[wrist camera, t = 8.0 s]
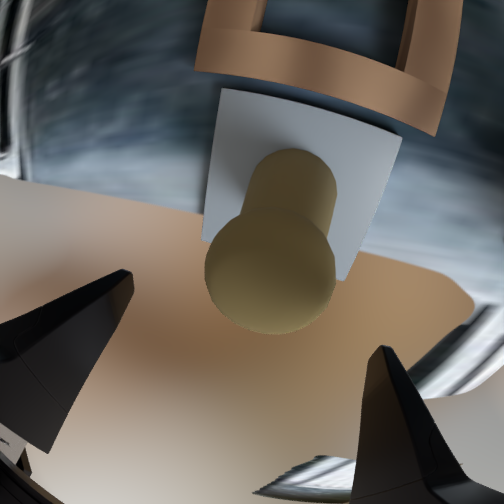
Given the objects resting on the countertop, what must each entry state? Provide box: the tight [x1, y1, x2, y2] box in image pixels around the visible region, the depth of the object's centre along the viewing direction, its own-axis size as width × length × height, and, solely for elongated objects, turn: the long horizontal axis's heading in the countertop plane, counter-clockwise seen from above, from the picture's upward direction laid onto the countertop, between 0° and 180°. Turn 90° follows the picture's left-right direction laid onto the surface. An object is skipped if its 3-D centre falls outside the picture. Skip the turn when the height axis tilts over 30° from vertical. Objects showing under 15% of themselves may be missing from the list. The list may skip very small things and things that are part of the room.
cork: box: [205, 148, 337, 334], centre depth 14 cm, size 6×6×11 cm
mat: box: [201, 88, 402, 281], centre depth 19 cm, size 12×12×1 cm
